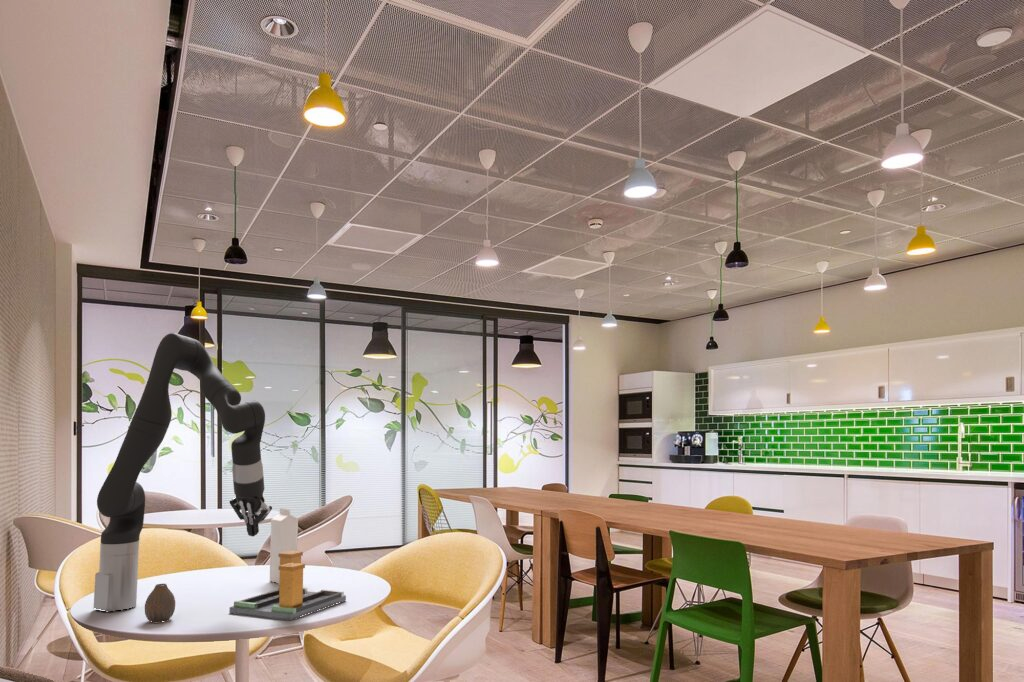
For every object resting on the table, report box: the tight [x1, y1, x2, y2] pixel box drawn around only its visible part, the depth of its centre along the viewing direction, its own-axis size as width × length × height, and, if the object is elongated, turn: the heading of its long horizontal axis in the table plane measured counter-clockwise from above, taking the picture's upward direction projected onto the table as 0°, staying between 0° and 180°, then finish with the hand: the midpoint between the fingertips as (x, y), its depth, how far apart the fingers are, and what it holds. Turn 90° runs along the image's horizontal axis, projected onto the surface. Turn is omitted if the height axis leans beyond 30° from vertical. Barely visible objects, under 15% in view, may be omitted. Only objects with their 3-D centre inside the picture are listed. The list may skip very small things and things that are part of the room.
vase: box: [144, 583, 176, 623], centre depth 183 cm, size 7×7×9 cm
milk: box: [269, 507, 299, 584], centre depth 230 cm, size 6×6×22 cm
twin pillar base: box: [228, 563, 347, 622], centre depth 196 cm, size 22×20×12 cm
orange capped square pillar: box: [278, 550, 304, 594], centre depth 205 cm, size 5×5×11 cm
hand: (253, 534), depth 197 cm, fingers closed
